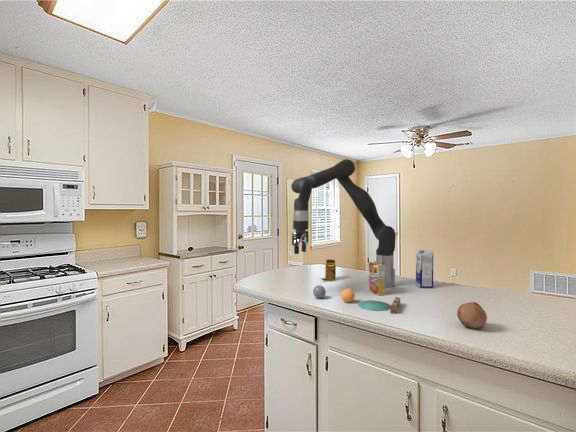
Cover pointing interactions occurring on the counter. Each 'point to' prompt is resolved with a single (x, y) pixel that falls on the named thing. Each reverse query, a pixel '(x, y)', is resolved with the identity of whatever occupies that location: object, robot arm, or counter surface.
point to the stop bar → (395, 305)
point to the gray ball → (319, 291)
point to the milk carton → (424, 268)
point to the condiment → (330, 271)
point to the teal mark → (374, 305)
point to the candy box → (377, 278)
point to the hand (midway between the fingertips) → (300, 252)
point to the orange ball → (347, 295)
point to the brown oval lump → (472, 315)
